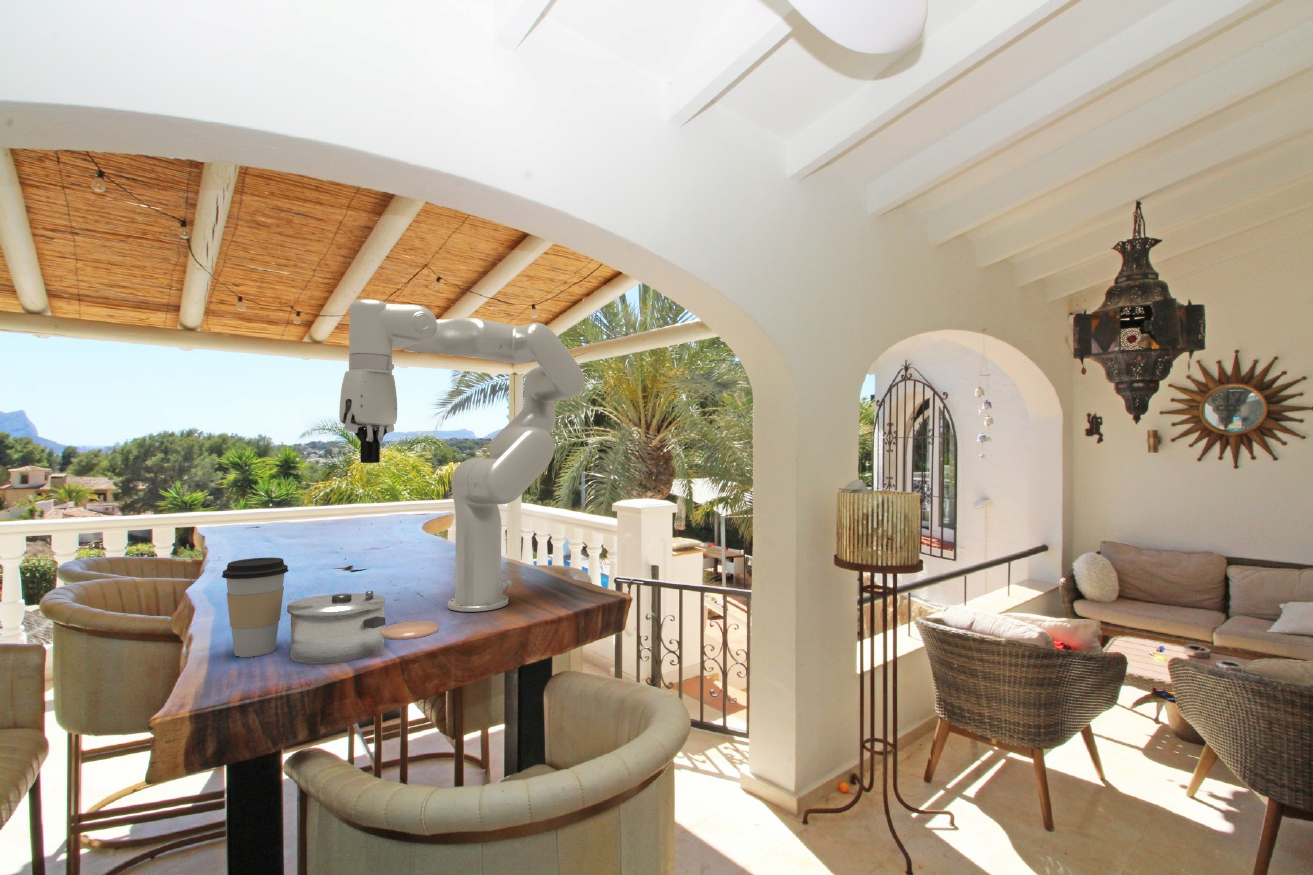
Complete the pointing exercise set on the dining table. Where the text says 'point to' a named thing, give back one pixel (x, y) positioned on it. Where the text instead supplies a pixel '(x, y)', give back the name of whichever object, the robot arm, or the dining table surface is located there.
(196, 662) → the dining table surface
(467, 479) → the robot arm
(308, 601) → the lid
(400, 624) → the coaster
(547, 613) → the dining table surface
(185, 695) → the dining table surface
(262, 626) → the coffee cup
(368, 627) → the pot
